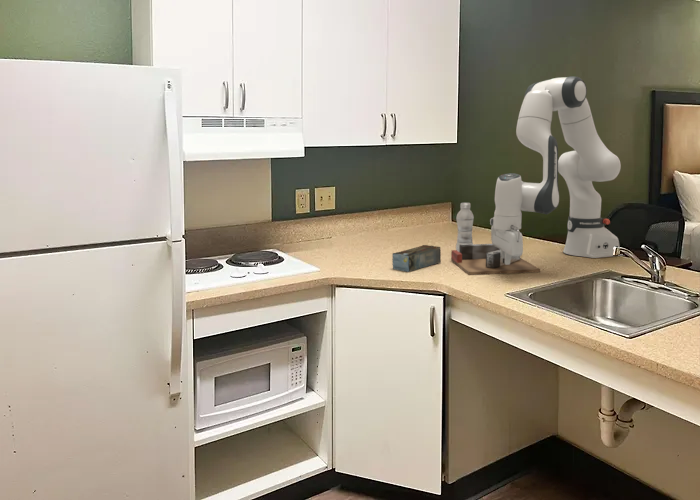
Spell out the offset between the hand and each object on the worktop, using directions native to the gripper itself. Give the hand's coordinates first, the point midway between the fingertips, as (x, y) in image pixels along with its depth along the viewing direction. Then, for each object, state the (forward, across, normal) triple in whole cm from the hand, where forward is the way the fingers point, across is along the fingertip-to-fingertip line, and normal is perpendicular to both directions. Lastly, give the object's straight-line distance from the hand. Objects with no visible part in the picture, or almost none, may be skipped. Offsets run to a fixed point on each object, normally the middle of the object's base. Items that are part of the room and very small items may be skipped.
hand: (506, 263), depth 210 cm
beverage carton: (+4, +17, +27) cm, 32 cm away
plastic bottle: (+4, +33, +4) cm, 34 cm away
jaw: (+2, +10, -3) cm, 11 cm away
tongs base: (+4, +12, 0) cm, 13 cm away
